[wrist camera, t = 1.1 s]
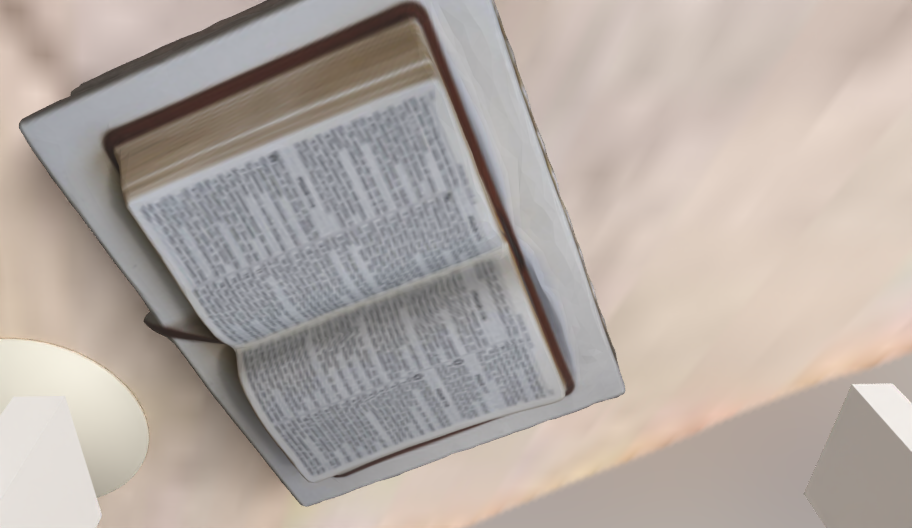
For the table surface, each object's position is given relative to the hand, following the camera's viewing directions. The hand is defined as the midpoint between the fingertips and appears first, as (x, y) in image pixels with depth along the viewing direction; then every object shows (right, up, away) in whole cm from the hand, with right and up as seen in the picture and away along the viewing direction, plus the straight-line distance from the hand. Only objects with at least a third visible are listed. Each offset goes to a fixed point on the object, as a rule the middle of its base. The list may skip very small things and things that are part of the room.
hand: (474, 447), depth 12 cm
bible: (-5, +6, +25) cm, 26 cm away
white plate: (-26, -7, +29) cm, 40 cm away
